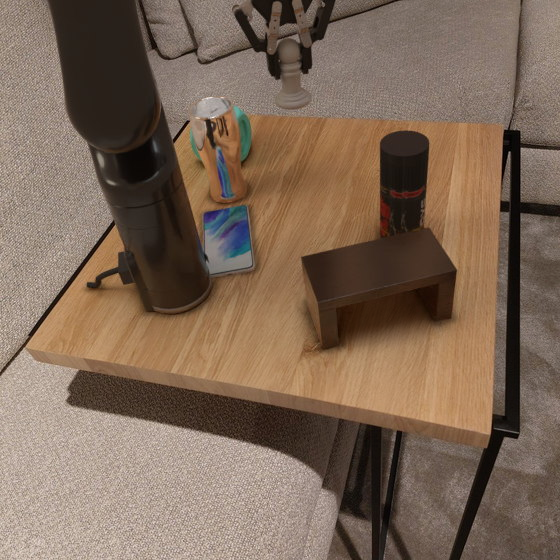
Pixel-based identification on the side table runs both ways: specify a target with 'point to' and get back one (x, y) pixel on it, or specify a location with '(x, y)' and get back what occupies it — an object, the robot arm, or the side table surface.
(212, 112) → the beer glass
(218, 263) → the smartphone
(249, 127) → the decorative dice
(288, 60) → the chess piece
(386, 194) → the deodorant
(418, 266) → the shelf
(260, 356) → the side table surface
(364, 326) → the side table surface
